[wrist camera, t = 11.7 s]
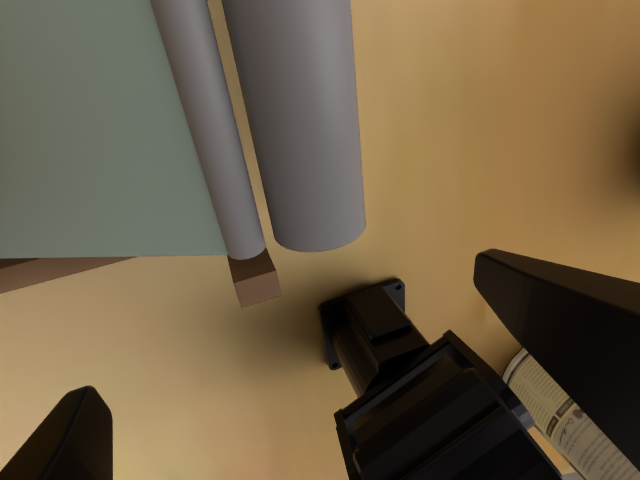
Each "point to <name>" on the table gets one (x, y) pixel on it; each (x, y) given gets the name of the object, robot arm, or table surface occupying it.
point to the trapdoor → (175, 128)
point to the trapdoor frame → (248, 274)
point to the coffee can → (566, 423)
